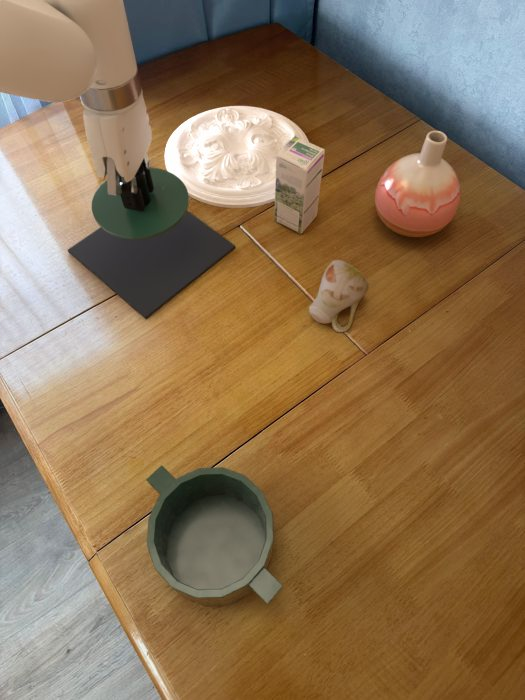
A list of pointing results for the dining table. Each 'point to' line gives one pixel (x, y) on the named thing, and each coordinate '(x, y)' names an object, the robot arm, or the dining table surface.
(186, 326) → the dining table surface
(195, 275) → the mat
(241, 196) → the ceiling medallion
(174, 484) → the pot
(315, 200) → the syrup box
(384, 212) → the vase
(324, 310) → the mug
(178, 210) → the lid
